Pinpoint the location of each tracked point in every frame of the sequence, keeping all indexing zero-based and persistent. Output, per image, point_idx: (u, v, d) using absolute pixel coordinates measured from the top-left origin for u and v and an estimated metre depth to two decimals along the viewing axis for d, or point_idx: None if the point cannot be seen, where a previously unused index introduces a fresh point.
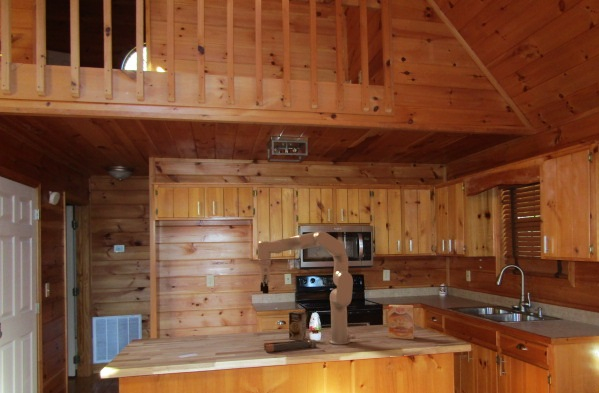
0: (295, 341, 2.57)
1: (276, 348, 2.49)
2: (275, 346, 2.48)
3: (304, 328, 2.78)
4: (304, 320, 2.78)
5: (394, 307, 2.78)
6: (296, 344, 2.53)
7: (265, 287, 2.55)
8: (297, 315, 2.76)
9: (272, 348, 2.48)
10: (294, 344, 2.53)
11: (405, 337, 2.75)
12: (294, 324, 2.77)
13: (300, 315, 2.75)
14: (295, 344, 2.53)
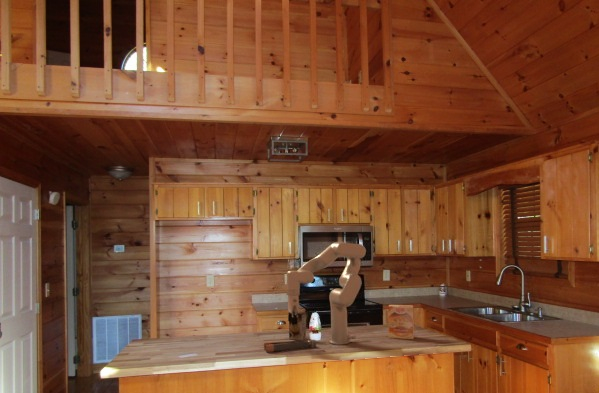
0: (295, 341, 2.57)
1: (276, 348, 2.49)
2: (275, 346, 2.48)
3: (304, 328, 2.78)
4: (304, 320, 2.78)
5: (394, 307, 2.78)
6: (296, 344, 2.53)
7: (294, 318, 2.52)
8: (297, 315, 2.76)
9: (272, 348, 2.48)
10: (294, 344, 2.53)
11: (405, 337, 2.75)
12: None
13: (300, 315, 2.75)
14: (295, 344, 2.53)
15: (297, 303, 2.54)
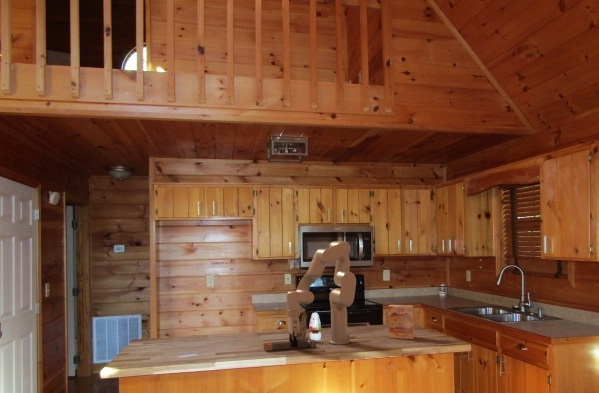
0: None
1: (275, 347, 2.51)
2: (274, 345, 2.51)
3: (304, 328, 2.78)
4: (304, 320, 2.78)
5: (394, 307, 2.78)
6: None
7: (294, 341, 2.52)
8: None
9: (271, 347, 2.50)
10: None
11: (405, 337, 2.75)
12: None
13: (300, 315, 2.75)
14: None
15: (297, 324, 2.53)
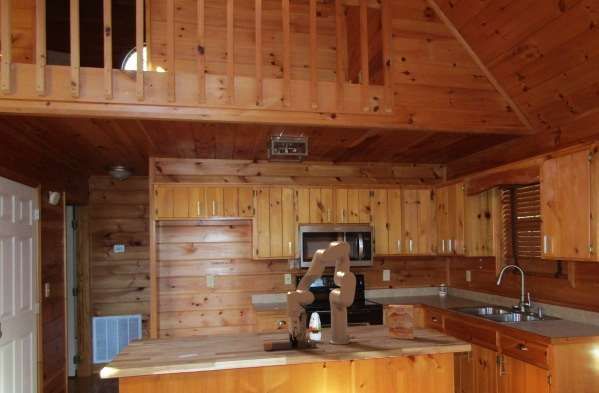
0: None
1: (274, 346, 2.52)
2: (273, 345, 2.52)
3: (304, 328, 2.78)
4: (304, 320, 2.78)
5: (394, 307, 2.78)
6: None
7: (294, 341, 2.52)
8: None
9: (271, 346, 2.51)
10: None
11: (405, 337, 2.75)
12: None
13: (300, 315, 2.75)
14: None
15: (298, 324, 2.53)
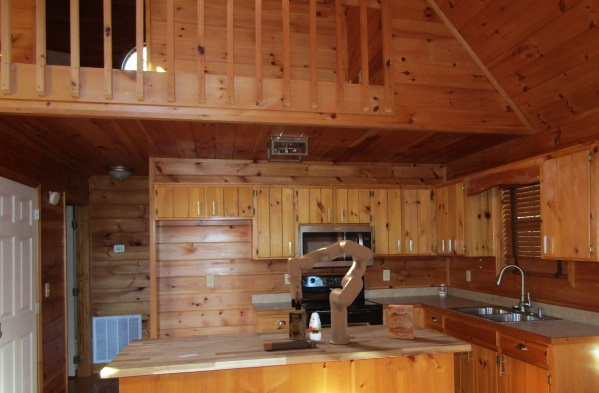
0: None
1: (274, 346, 2.52)
2: (273, 345, 2.52)
3: (304, 328, 2.78)
4: (304, 320, 2.78)
5: (394, 307, 2.78)
6: (295, 343, 2.54)
7: (298, 304, 2.56)
8: (297, 315, 2.76)
9: (271, 346, 2.51)
10: (293, 343, 2.54)
11: (405, 337, 2.75)
12: (294, 324, 2.77)
13: (300, 315, 2.75)
14: (294, 343, 2.54)
15: (300, 289, 2.58)
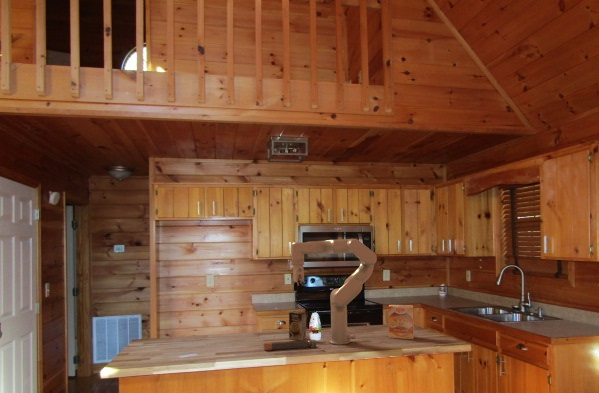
0: None
1: (274, 346, 2.52)
2: (273, 345, 2.52)
3: (304, 328, 2.78)
4: (304, 320, 2.78)
5: (394, 307, 2.78)
6: (295, 343, 2.54)
7: (299, 286, 2.63)
8: (297, 315, 2.76)
9: (271, 346, 2.51)
10: (293, 343, 2.54)
11: (405, 337, 2.75)
12: (294, 324, 2.77)
13: (300, 315, 2.75)
14: (294, 343, 2.54)
15: (302, 272, 2.65)
